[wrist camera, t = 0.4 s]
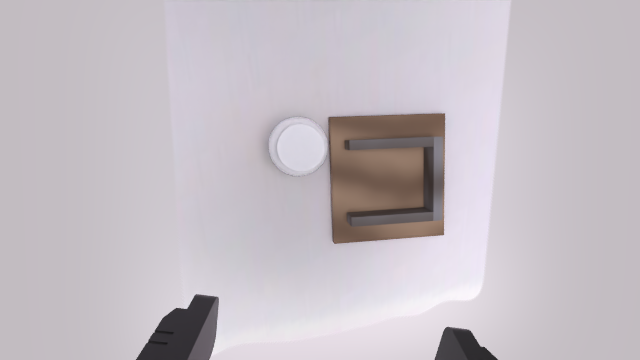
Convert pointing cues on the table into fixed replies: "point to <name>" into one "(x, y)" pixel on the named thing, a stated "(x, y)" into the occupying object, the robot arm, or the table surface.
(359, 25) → the table surface
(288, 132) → the supplement bottle
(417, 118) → the u holder
